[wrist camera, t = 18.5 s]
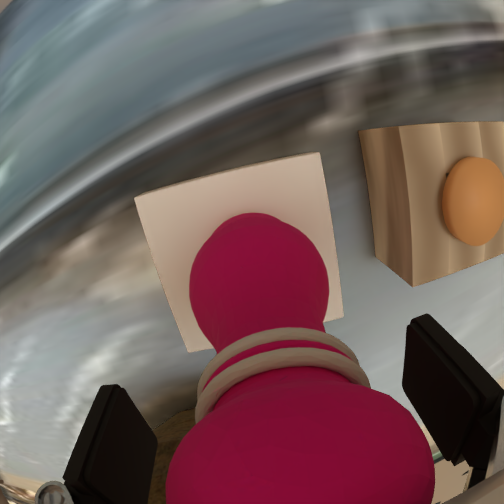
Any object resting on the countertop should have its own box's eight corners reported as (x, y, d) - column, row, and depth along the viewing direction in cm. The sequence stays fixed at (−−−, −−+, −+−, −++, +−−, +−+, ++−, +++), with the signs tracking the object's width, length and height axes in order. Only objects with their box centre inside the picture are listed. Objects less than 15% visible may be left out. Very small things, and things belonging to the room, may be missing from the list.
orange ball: (445, 148, 21) (504, 155, 14) (450, 213, 22) (506, 236, 16) (391, 155, 21) (448, 162, 14) (399, 226, 22) (452, 255, 16)
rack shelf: (309, 152, 21) (319, 152, 18) (334, 301, 25) (343, 316, 22) (144, 192, 21) (133, 197, 18) (191, 334, 25) (188, 352, 22)
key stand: (455, 122, 20) (503, 121, 15) (464, 231, 23) (507, 251, 18) (358, 130, 20) (398, 126, 15) (375, 256, 24) (412, 287, 18)
